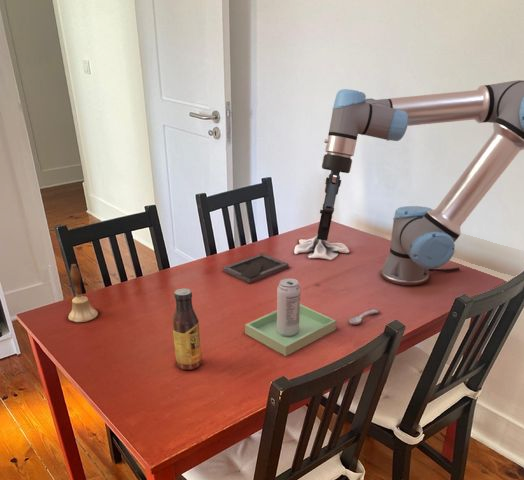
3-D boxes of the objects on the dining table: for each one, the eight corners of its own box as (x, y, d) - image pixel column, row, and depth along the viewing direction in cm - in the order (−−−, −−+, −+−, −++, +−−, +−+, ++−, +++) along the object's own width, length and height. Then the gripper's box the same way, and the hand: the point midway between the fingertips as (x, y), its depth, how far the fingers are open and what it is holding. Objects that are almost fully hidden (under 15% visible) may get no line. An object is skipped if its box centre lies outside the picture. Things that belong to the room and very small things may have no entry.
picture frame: (249, 283, 172) (288, 268, 182) (249, 277, 171) (288, 262, 181) (223, 271, 180) (262, 257, 190) (223, 266, 179) (262, 252, 189)
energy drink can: (290, 324, 148) (291, 275, 140) (303, 334, 144) (305, 283, 136) (272, 330, 145) (272, 280, 137) (285, 340, 141) (286, 289, 133)
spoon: (346, 323, 149) (347, 317, 148) (371, 312, 156) (372, 306, 155) (354, 327, 147) (355, 321, 146) (379, 316, 154) (380, 309, 153)
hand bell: (89, 306, 159) (78, 256, 150) (103, 315, 154) (93, 264, 145) (63, 315, 154) (51, 264, 146) (77, 325, 149) (65, 273, 141)
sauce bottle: (197, 372, 129) (191, 299, 118) (173, 369, 130) (164, 297, 120) (205, 358, 135) (199, 287, 124) (181, 355, 136) (174, 285, 125)
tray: (295, 310, 156) (295, 301, 155) (335, 329, 146) (336, 320, 145) (245, 333, 145) (245, 324, 143) (285, 356, 135) (285, 346, 134)
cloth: (356, 249, 196) (358, 233, 193) (327, 264, 184) (328, 248, 181) (308, 235, 209) (309, 220, 205) (278, 249, 197) (278, 233, 194)
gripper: (324, 154, 150) (309, 229, 157) (324, 151, 126) (307, 239, 133) (350, 159, 150) (334, 234, 157) (355, 156, 126) (336, 245, 133)
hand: (322, 237), depth 145 cm, fingers open, 13 cm apart
